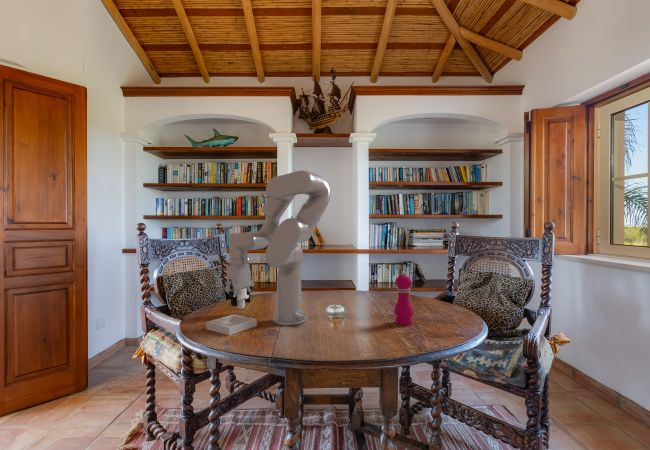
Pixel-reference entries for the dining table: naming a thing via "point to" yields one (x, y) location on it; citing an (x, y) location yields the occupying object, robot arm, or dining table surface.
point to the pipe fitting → (241, 297)
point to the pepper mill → (403, 300)
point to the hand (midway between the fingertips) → (240, 303)
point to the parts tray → (231, 324)
